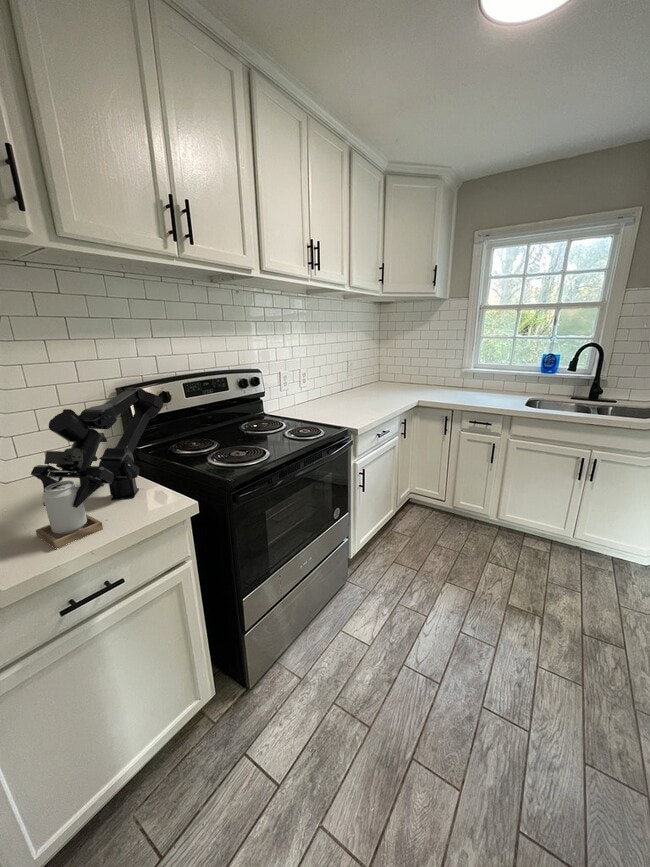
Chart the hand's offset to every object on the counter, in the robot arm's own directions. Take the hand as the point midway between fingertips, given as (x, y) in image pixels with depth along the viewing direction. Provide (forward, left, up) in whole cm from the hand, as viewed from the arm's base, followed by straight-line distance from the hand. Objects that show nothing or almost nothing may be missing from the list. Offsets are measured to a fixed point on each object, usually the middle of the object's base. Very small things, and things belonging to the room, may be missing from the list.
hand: (60, 506), depth 87 cm
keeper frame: (0, -1, -8) cm, 8 cm away
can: (0, -1, -7) cm, 7 cm away
